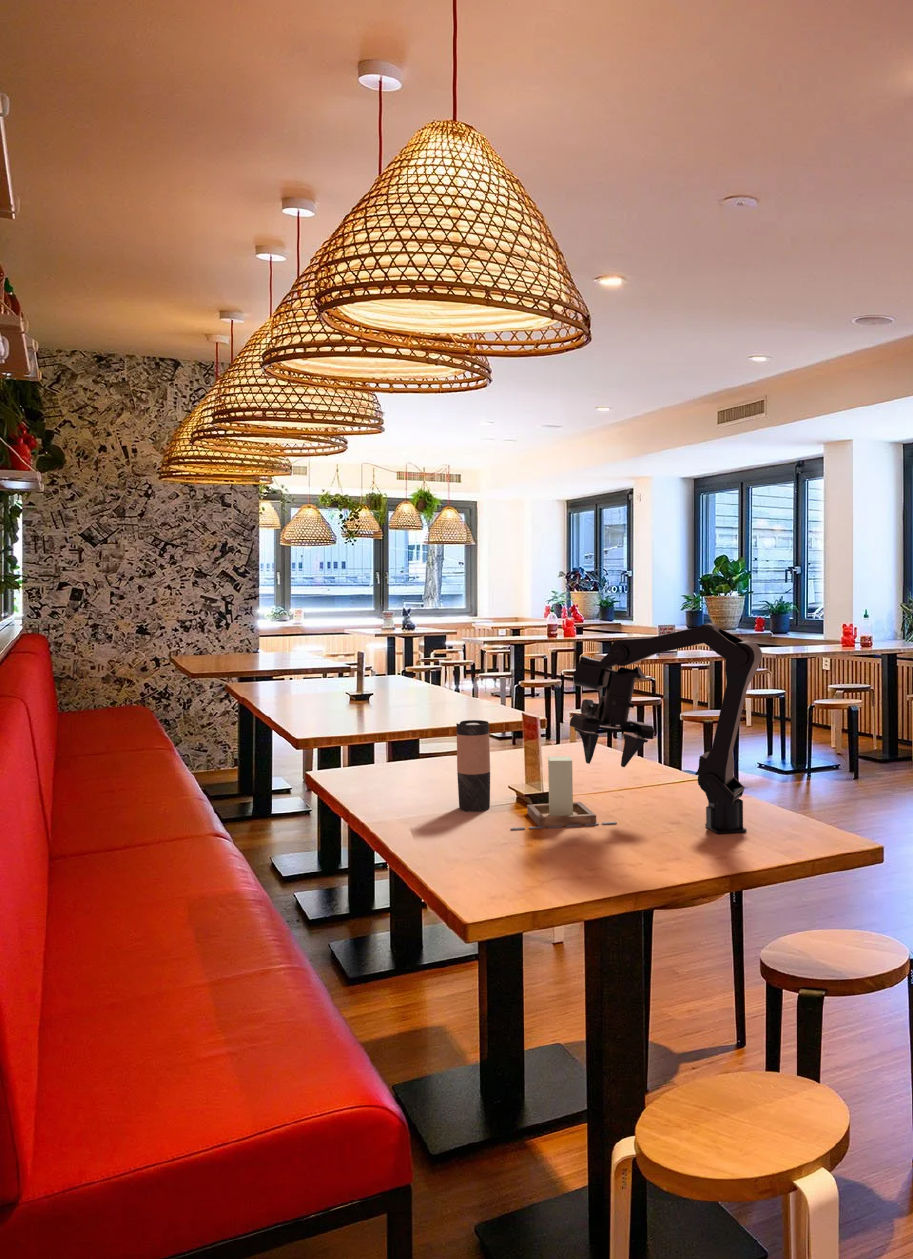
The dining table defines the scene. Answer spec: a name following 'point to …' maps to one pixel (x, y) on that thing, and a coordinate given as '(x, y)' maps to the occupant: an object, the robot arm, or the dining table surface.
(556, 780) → the stub block
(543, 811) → the stub tray
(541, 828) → the perforation line
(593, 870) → the dining table surface
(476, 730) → the travel mug
